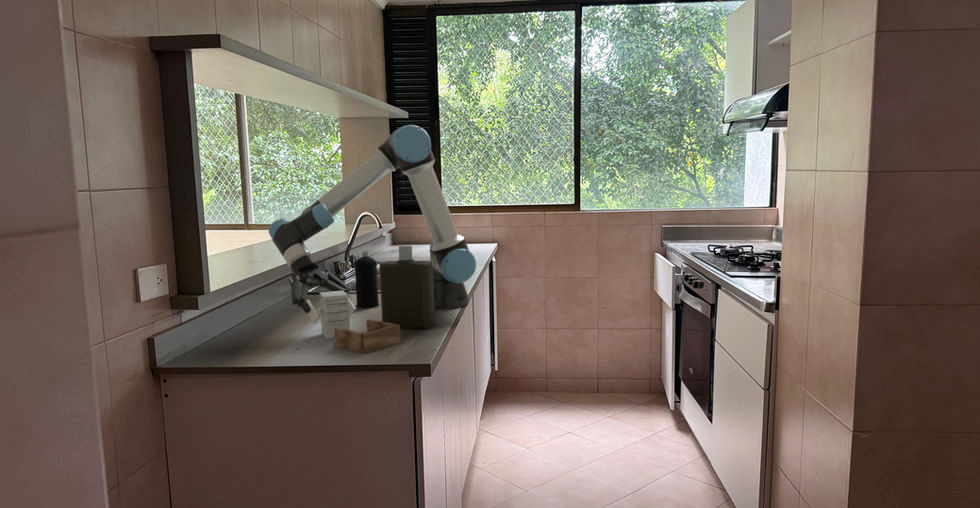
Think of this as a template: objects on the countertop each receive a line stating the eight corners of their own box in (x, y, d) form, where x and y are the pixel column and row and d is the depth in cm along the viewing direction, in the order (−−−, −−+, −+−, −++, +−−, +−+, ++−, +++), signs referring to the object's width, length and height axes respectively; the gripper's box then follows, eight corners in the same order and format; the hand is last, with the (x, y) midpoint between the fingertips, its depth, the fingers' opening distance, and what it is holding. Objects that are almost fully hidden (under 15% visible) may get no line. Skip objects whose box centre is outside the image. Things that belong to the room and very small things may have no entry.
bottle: (427, 330, 196) (424, 248, 193) (379, 327, 201) (375, 247, 198) (437, 324, 204) (434, 245, 201) (390, 321, 208) (386, 244, 205)
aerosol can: (377, 308, 230) (374, 252, 227) (353, 308, 230) (351, 252, 228) (381, 303, 238) (378, 249, 236) (358, 303, 238) (356, 249, 236)
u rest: (334, 346, 181) (333, 328, 180) (369, 335, 191) (368, 319, 190) (366, 353, 173) (365, 334, 172) (400, 342, 183) (399, 324, 183)
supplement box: (321, 333, 195) (318, 292, 194) (345, 330, 198) (343, 290, 197) (325, 339, 189) (322, 296, 187) (350, 336, 191) (348, 294, 190)
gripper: (328, 264, 211) (361, 315, 204) (260, 275, 191) (294, 331, 184) (338, 249, 207) (372, 300, 200) (270, 258, 187) (305, 315, 180)
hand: (335, 315), depth 192 cm, fingers open, 13 cm apart
